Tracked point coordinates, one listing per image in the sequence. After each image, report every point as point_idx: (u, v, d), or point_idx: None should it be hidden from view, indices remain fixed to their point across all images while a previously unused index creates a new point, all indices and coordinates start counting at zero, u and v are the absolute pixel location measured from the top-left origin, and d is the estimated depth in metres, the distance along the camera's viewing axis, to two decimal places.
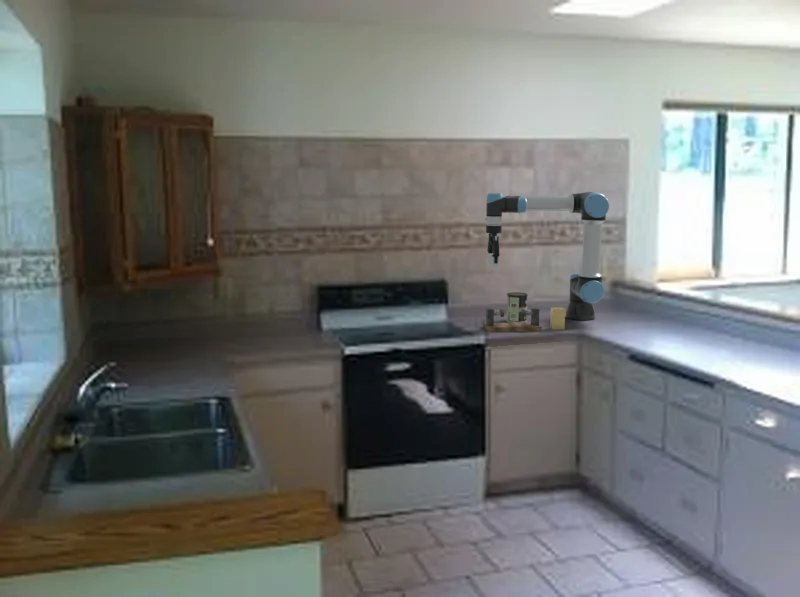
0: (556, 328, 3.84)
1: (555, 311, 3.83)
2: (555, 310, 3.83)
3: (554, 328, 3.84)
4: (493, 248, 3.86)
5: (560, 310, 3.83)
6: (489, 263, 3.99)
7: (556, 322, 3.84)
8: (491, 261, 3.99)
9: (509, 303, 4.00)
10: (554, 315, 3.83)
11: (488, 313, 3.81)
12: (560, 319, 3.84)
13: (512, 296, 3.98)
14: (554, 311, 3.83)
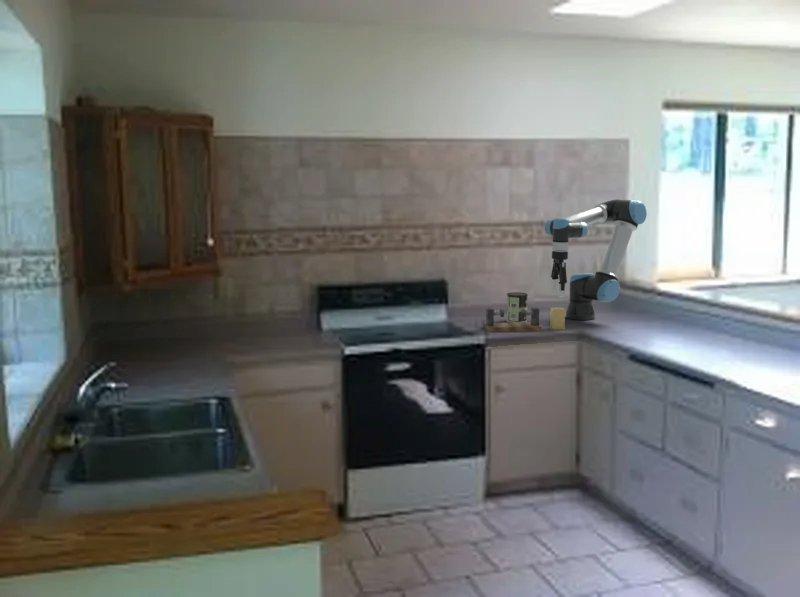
0: (556, 328, 3.84)
1: (555, 311, 3.83)
2: (555, 310, 3.83)
3: (554, 328, 3.84)
4: (560, 275, 3.76)
5: (560, 310, 3.83)
6: (553, 289, 3.90)
7: (556, 322, 3.84)
8: (555, 287, 3.90)
9: (509, 303, 4.00)
10: (554, 315, 3.83)
11: (488, 313, 3.81)
12: (560, 319, 3.84)
13: (512, 296, 3.98)
14: (554, 311, 3.83)
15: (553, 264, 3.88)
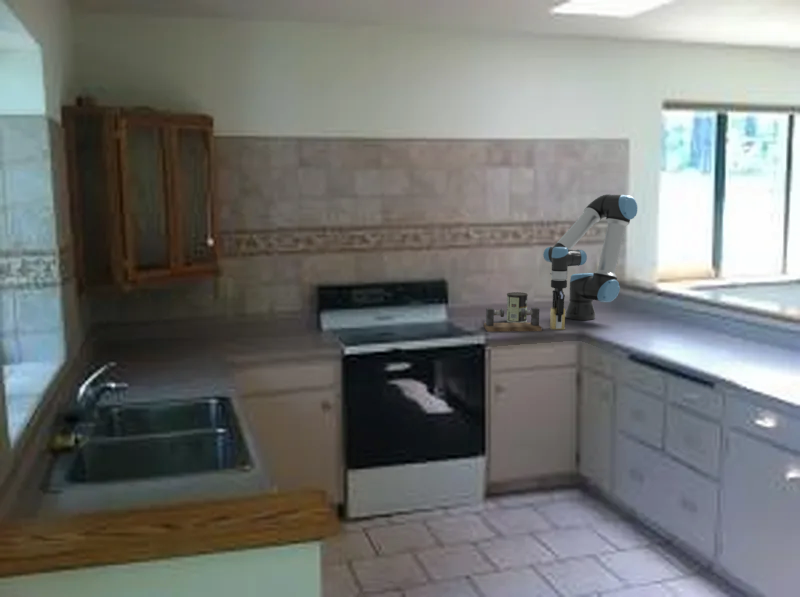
0: None
1: (555, 311, 3.83)
2: (555, 310, 3.83)
3: (554, 328, 3.84)
4: (557, 306, 3.81)
5: None
6: None
7: None
8: None
9: (509, 303, 4.00)
10: (554, 315, 3.83)
11: (488, 313, 3.81)
12: None
13: (512, 296, 3.98)
14: (554, 311, 3.83)
15: (553, 295, 3.89)
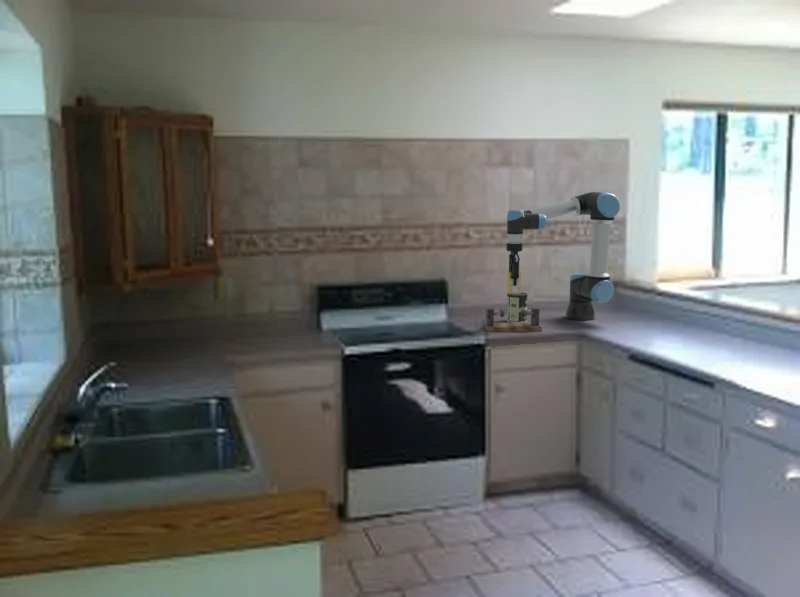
0: (511, 292, 3.80)
1: (510, 275, 3.79)
2: (510, 274, 3.78)
3: (509, 292, 3.80)
4: None
5: None
6: None
7: (511, 286, 3.80)
8: None
9: (509, 303, 4.00)
10: (509, 279, 3.79)
11: (488, 313, 3.81)
12: None
13: (512, 296, 3.98)
14: (509, 275, 3.79)
15: (509, 259, 3.85)
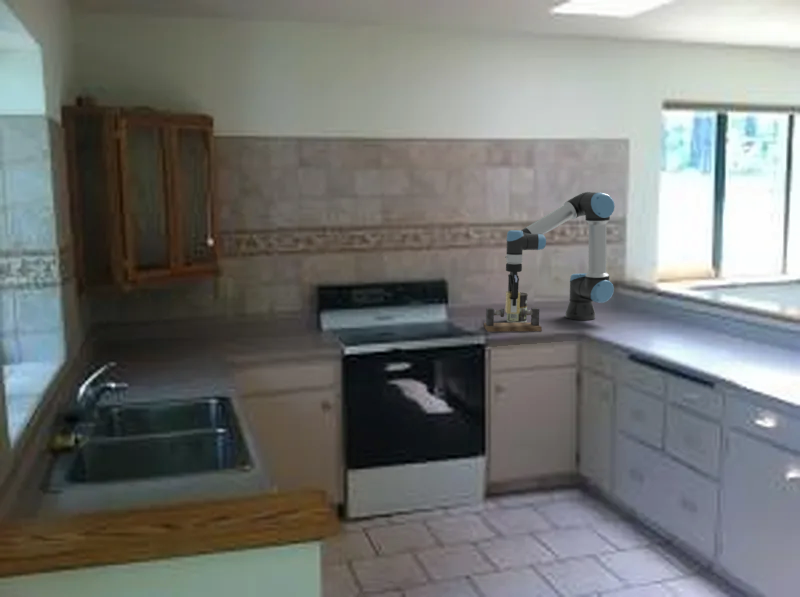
0: (511, 312, 3.82)
1: (510, 295, 3.80)
2: (510, 294, 3.80)
3: (508, 312, 3.82)
4: (512, 290, 3.79)
5: None
6: None
7: (510, 306, 3.81)
8: None
9: None
10: (509, 299, 3.80)
11: (488, 313, 3.81)
12: None
13: None
14: (509, 295, 3.80)
15: (508, 279, 3.86)
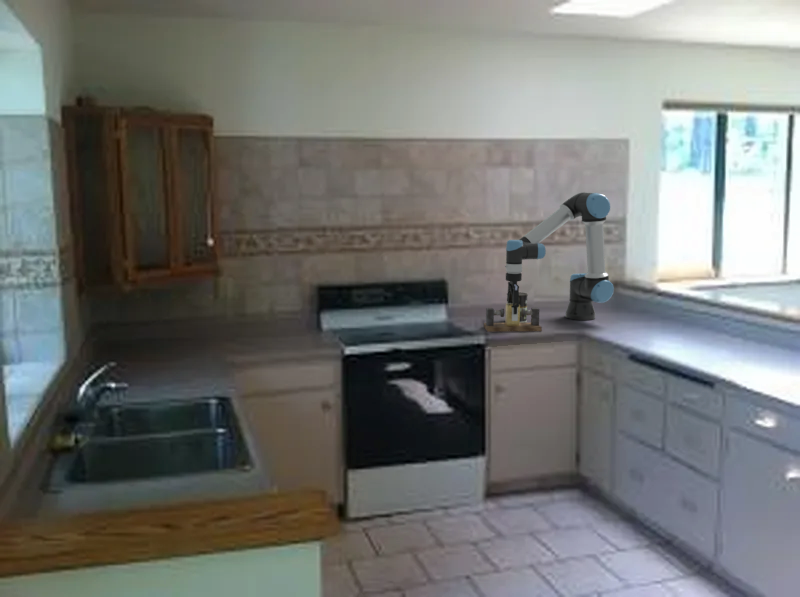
0: (511, 324, 3.83)
1: (510, 307, 3.81)
2: (510, 306, 3.81)
3: (508, 324, 3.83)
4: None
5: None
6: None
7: (510, 318, 3.82)
8: None
9: None
10: (509, 311, 3.82)
11: (488, 313, 3.81)
12: None
13: None
14: (509, 307, 3.81)
15: (508, 287, 3.88)
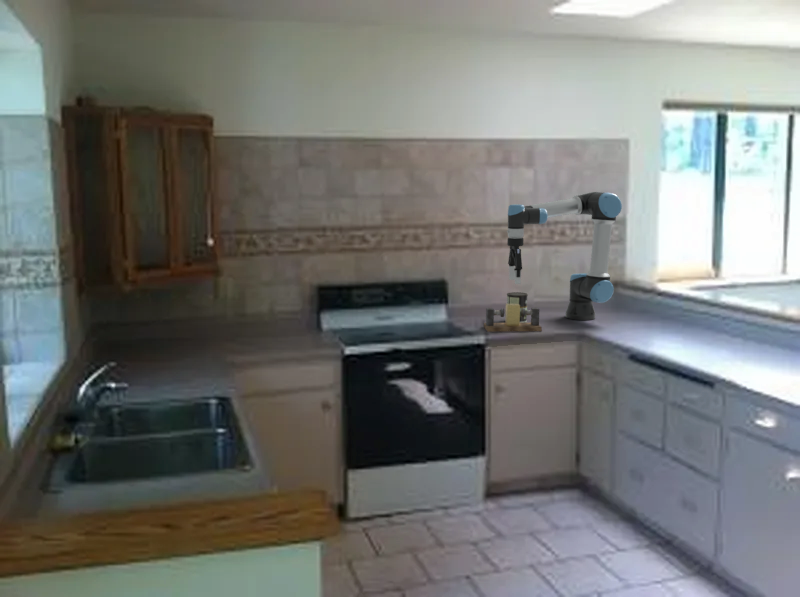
0: (511, 324, 3.83)
1: (510, 307, 3.81)
2: (510, 306, 3.81)
3: (508, 324, 3.83)
4: (515, 261, 3.75)
5: (515, 306, 3.81)
6: (510, 276, 3.88)
7: (510, 318, 3.82)
8: (512, 274, 3.88)
9: (509, 303, 4.00)
10: (509, 311, 3.82)
11: (488, 313, 3.81)
12: (515, 316, 3.82)
13: (512, 296, 3.98)
14: (509, 307, 3.81)
15: None
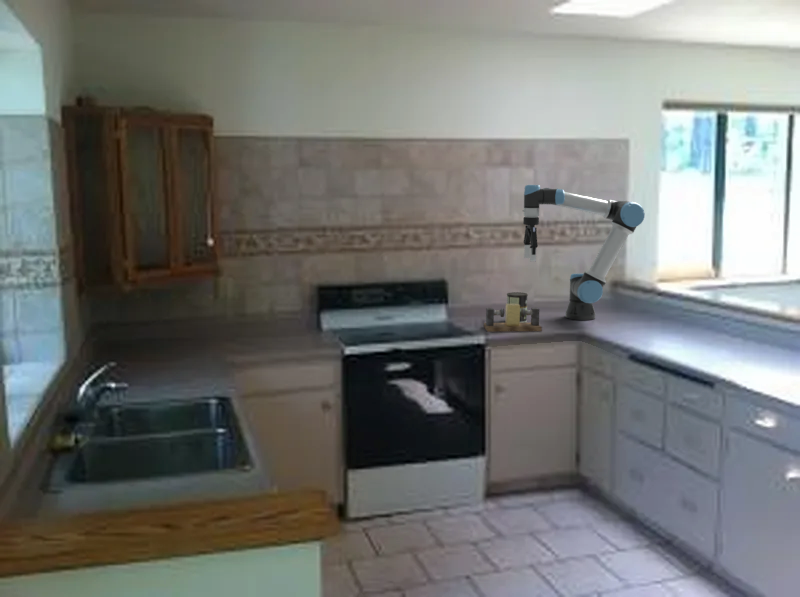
0: (511, 324, 3.83)
1: (510, 307, 3.81)
2: (510, 306, 3.81)
3: (508, 324, 3.83)
4: (531, 239, 3.88)
5: (515, 306, 3.81)
6: (525, 255, 4.01)
7: (510, 318, 3.82)
8: (527, 253, 4.01)
9: (509, 303, 4.00)
10: (509, 311, 3.82)
11: (488, 313, 3.81)
12: (515, 316, 3.82)
13: (512, 296, 3.98)
14: (509, 307, 3.81)
15: (525, 230, 3.99)
